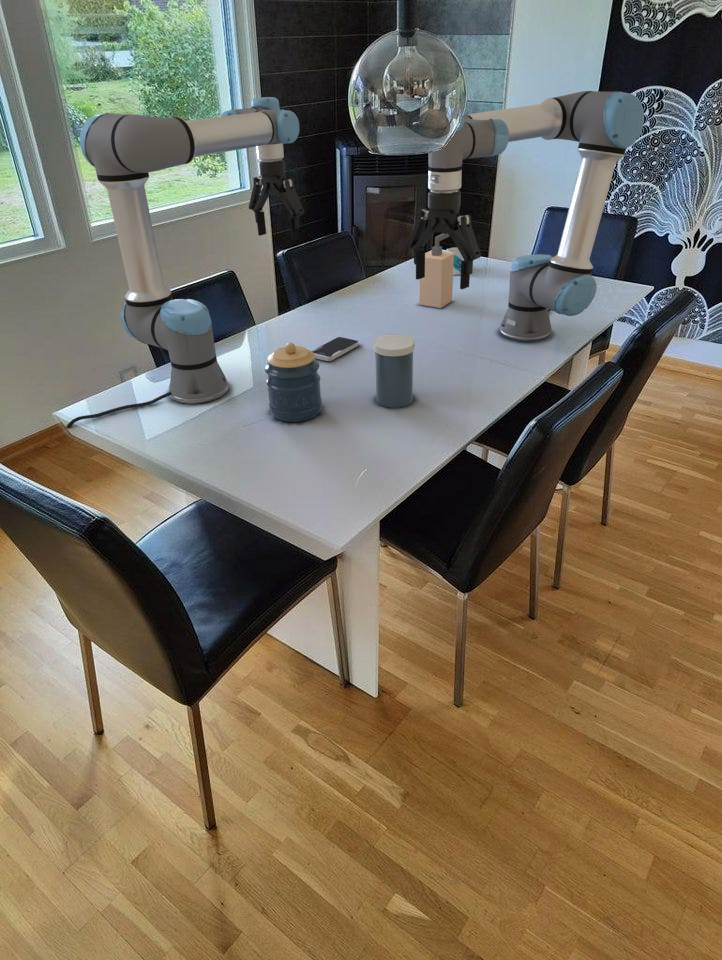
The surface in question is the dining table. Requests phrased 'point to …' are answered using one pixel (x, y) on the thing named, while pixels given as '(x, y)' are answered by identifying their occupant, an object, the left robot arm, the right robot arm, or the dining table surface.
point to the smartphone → (334, 348)
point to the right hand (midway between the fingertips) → (441, 283)
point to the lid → (394, 345)
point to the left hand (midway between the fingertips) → (278, 237)
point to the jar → (394, 380)
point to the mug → (456, 260)
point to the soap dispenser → (437, 276)
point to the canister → (293, 384)
